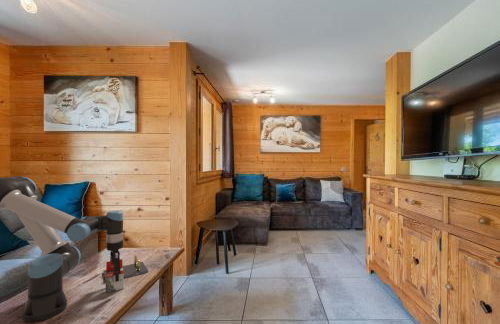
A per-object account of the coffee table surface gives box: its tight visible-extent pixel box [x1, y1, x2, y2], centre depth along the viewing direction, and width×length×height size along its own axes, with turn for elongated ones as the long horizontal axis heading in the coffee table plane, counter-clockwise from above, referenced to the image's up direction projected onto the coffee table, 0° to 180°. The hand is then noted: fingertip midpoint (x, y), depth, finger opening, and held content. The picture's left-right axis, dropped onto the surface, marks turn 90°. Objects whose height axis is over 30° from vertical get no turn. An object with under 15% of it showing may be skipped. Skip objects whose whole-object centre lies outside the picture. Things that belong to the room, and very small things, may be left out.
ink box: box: [105, 258, 125, 294], centre depth 123 cm, size 4×8×15 cm, turn 123°
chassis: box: [102, 255, 149, 283], centre depth 143 cm, size 22×16×7 cm
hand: (115, 282), depth 123 cm, fingers open, 13 cm apart
